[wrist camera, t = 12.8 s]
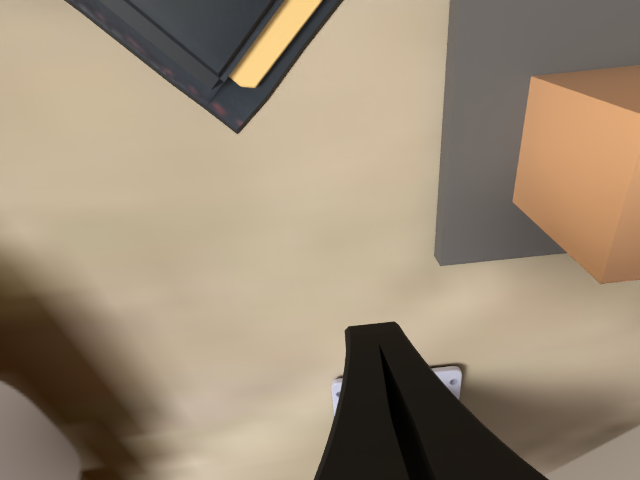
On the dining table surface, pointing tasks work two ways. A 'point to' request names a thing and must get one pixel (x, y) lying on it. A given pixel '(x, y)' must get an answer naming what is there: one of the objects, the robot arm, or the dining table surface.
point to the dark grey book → (215, 45)
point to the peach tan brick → (585, 167)
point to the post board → (510, 110)
